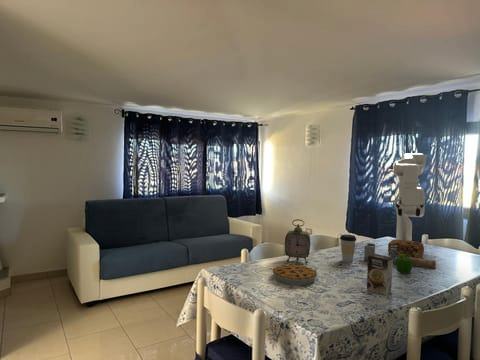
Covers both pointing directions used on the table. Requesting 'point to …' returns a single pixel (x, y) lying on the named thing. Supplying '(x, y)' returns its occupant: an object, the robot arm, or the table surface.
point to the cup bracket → (368, 250)
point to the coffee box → (379, 274)
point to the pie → (294, 274)
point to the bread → (407, 248)
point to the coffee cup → (347, 247)
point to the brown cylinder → (423, 262)
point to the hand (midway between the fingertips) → (408, 215)
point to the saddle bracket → (393, 254)
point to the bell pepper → (404, 264)
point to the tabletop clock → (297, 243)
